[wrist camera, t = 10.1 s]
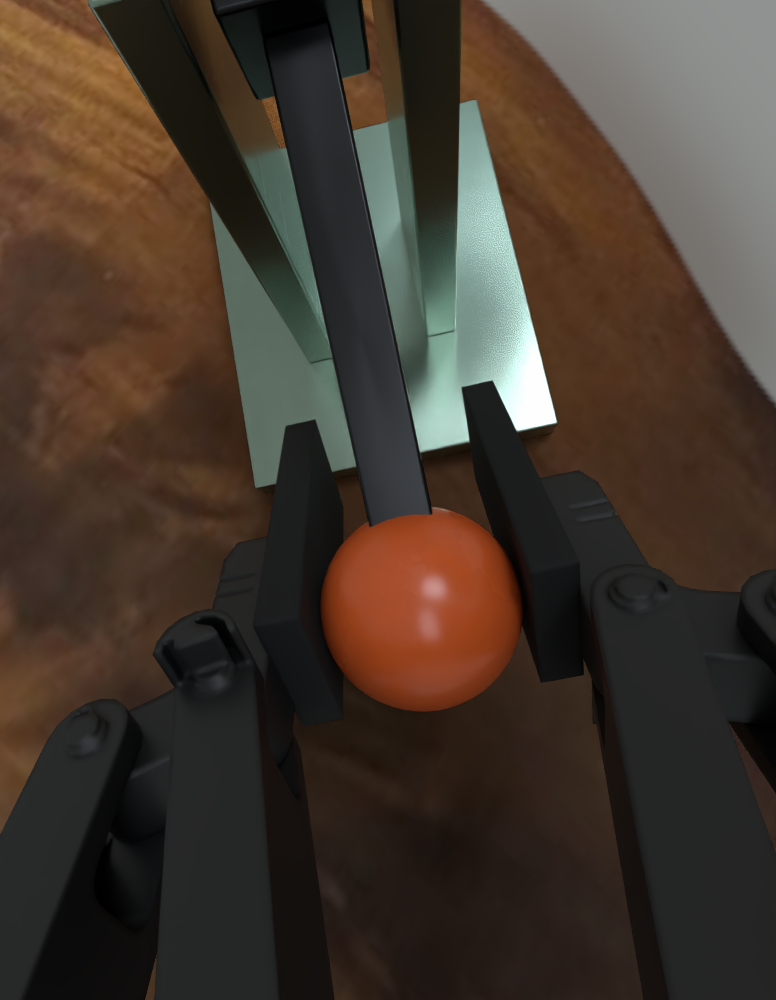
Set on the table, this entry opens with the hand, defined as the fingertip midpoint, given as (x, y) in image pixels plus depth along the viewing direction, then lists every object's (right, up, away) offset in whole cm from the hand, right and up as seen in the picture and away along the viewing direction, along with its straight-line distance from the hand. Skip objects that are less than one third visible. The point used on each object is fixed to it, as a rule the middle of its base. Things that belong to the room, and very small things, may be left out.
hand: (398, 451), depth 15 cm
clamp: (-1, +6, +6) cm, 9 cm away
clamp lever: (-1, +2, -3) cm, 4 cm away
